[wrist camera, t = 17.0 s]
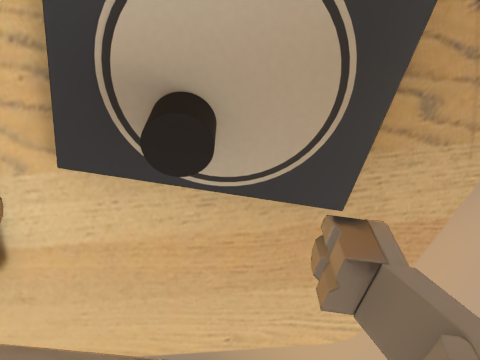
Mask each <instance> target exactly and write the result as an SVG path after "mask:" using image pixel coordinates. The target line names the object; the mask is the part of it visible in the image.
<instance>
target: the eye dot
mask: <svg viewBox="0 0 480 360" xmlns="http://www.w3.org/2000/svg"><path fill="white" fill-rule="evenodd" d="M216 126H217V122H216V116H215V113H214V111H213V109H212V108H211V106H210V105H209V104H208V103H207V102H206V101H205V100H204V99H203V98H201V97H199V96H198V95H195V94H193V93H189V92H173V93H169V94H167V95H165V96H163V97H162V98H160V99H159V100H158V101H157V102H156V103H155V105H154V107H153V109H152V111H151V113H150V115H149V117H148V120H147V122H146V124H145V126H144V128H143V131H142V133H141V138H140V146H141V150H142V153H143V155H144V157H145V159H146V160H147V162H148V163H149V164H150V165H151V166H152V167H153V168H155V169H156V170H157V171H159V172H161V173H163V174H166V175H169V176H173V177H188V176H192V175H195V174H197V173H199V172H201V171H202V170H204V169H205V168H206V167H207V166H208V164H209V163H210V162H211V160H212V158H213V154H214V148H215V137H216Z"/></svg>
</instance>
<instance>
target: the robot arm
mask: <svg viewBox="0 0 480 360" xmlns="http://www.w3.org/2000/svg"><path fill="white" fill-rule="evenodd" d="M2 217H3V203H2V198H1V197H0V222H1V220H2ZM321 229H322V233H323V235H322V236H320V237H319V238H317V239H316V240H315V243H314V246H313V249H312V256H311V267H312V272H313V275H314V276H315V277H316V278H317V279H318V280H319V283H318V285H317V288H316V291H317V295H318V299H319V304H320V308H321V311H328V312H336V313H343V314H350V315H354V318H355V319H356V320H357V322H358V323H359V324H360V325H361V327H362V328H363V329H364V330H365V331H366V333H367V334H368V335H369V336H370V338H371V339H372V340H373V341H374V343H375V344H376V345H377V347H379V349H380V350H381V352H382V353H383V354H384V355H385V357H386V358H387V359H388V360H480V318H479V317H477V316H476V315H475V314H473V313H472V312H471V311H470V310H468V309H467V308H466V307H465V306H463V305H462V304H461V303H459V302H458V301H457V300H456V299H454V298H453V297H452V296H450V295H449V294H448V293H446V292H445V291H444V290H443V289H442V288H440V287H439V286H438V285H436V284H435V283H434V282H433V281H431V280H430V279H429V278H427V277H426V276H425V275H424V274H422V273H421V272H420V271H419V270H417V269H416V268H411V267H409V265H408V263H407V261H406V259H405V257H404V255H403V254H402V252H401V250H400V248H399V246H398V244H397V242H396V240H395V238H394V236H393V234H392V232H391V230H390V228H389V226H388V225H387V224H386V223H385V222H384V221H376V220H367V219H365V220H361V219H354V218H346V217H339V216H331V215H327V216H326V217H325V218H324V220H323V223H322V225H321ZM0 360H165V359H155V358H145V357H134V356H124V355H113V354H103V353H92V352H82V351H71V350H60V349H50V348H39V347H29V346H18V345H8V344H0Z"/></svg>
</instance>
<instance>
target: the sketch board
mask: <svg viewBox="0 0 480 360" xmlns="http://www.w3.org/2000/svg"><path fill="white" fill-rule="evenodd" d="M436 2H437V0H43V11H44V23H45V34H46V45H47V56H48V67H49V78H50V89H51V101H52V112H53V123H54V134H55V145H56V156H57V167H58V168H63V169H69V170H76V171H82V172H89V173H95V174H102V175H109V176H115V177H122V178H128V179H135V180H141V181H148V182H155V183H161V184H168V185H174V186H181V187H187V188H194V189H201V190H207V191H214V192H220V193H227V194H233V195H240V196H247V197H253V198H260V199H266V200H273V201H279V202H286V203H293V204H299V205H306V206H312V207H319V208H325V209H332V210H339V211H343V209H344V207H345V205H346V202H347V200H348V198H349V196H350V193H351V191H352V189H353V187H354V185H355V182H356V180H357V178H358V176H359V173H360V171H361V169H362V167H363V165H364V162H365V160H366V158H367V156H368V153H369V151H370V149H371V147H372V145H373V142H374V140H375V138H376V136H377V133H378V131H379V129H380V127H381V125H382V122H383V120H384V118H385V116H386V113H387V111H388V109H389V107H390V105H391V102H392V100H393V98H394V96H395V93H396V91H397V89H398V87H399V85H400V82H401V80H402V78H403V76H404V73H405V71H406V69H407V67H408V65H409V62H410V60H411V58H412V56H413V53H414V51H415V49H416V47H417V45H418V42H419V40H420V38H421V36H422V33H423V31H424V29H425V27H426V25H427V22H428V20H429V18H430V16H431V14H432V11H433V9H434V7H435V5H436ZM173 92H189V93H193V94H195V95H198V96H199V97H201V98H203V99H204V100H205V101H206V102H207V103H208V104H209V105H210V106H211V108H212V109H213V111H214V113H215V116H216V122H217V126H216V137H215V148H214V154H213V158H212V160H211V162H210V163H209V164H208V166H207V167H206V168H205V169H204V170H202V171H201V172H199V173H197V174H195V175H192V176H188V177H173V176H169V175H166V174H163V173H161V172H159V171H157V170H156V169H155V168H153V167H152V166H151V165H150V164H149V163H148V162H147V160H146V159H145V157H144V155H143V153H142V150H141V146H140V138H141V133H142V131H143V128H144V126H145V124H146V122H147V120H148V117H149V115H150V113H151V111H152V109H153V107H154V105H155V103H156V102H157V101H158V100H159V99H160V98H162V97H163V96H165V95H167V94H169V93H173Z"/></svg>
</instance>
